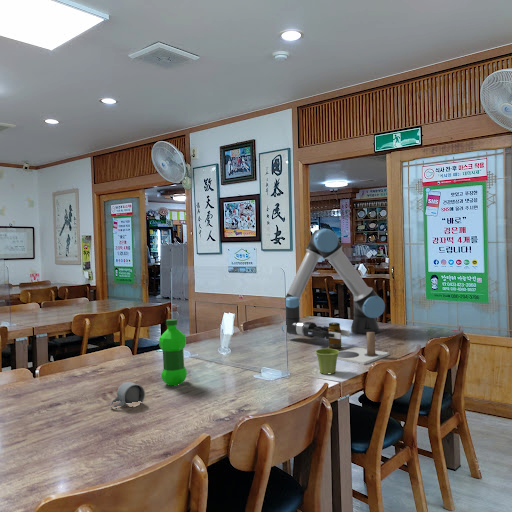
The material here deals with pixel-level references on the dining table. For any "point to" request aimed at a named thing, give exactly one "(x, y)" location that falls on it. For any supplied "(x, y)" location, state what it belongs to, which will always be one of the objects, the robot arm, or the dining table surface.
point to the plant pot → (327, 360)
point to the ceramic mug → (129, 394)
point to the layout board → (362, 352)
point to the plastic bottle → (173, 354)
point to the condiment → (332, 341)
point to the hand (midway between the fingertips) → (344, 334)
